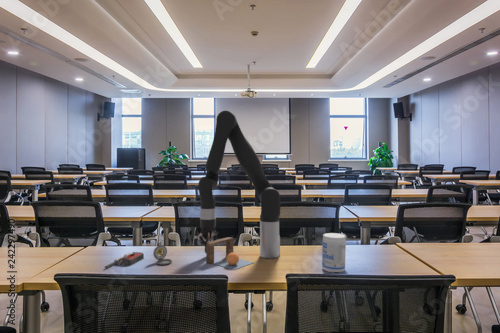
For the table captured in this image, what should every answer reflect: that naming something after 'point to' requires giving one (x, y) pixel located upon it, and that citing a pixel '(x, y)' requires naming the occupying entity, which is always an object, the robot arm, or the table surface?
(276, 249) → the robot arm
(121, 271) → the table surface
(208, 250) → the bridge
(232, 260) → the ball
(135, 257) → the walkie-talkie
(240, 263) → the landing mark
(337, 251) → the supplement tub
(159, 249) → the pocket watch
